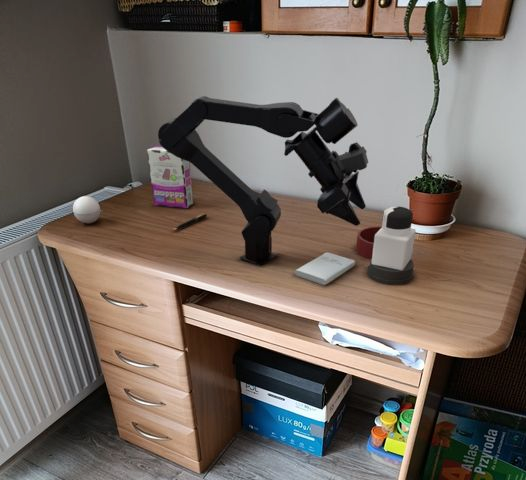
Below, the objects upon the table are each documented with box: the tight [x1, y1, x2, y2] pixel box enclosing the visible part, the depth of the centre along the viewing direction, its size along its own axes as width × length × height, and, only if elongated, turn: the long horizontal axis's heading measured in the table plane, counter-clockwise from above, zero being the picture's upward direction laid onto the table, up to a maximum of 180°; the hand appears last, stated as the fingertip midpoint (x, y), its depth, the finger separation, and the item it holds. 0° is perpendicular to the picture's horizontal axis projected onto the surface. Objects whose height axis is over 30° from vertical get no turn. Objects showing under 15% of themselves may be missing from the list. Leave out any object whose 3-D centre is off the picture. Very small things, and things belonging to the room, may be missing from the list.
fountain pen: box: [172, 213, 208, 231], centre depth 143 cm, size 14×1×2 cm, turn 145°
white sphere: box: [72, 195, 102, 224], centre depth 142 cm, size 10×7×7 cm
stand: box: [366, 258, 415, 286], centre depth 116 cm, size 10×10×3 cm
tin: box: [355, 225, 382, 260], centre depth 126 cm, size 12×12×4 cm
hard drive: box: [294, 251, 356, 286], centre depth 118 cm, size 2×8×12 cm
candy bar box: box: [146, 146, 194, 209], centre depth 152 cm, size 11×5×16 cm, turn 73°
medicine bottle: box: [372, 206, 417, 271], centre depth 112 cm, size 7×7×12 cm
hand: (361, 216), depth 113 cm, fingers open, 9 cm apart
